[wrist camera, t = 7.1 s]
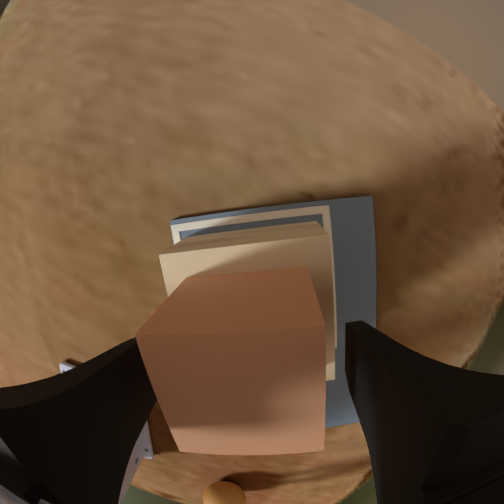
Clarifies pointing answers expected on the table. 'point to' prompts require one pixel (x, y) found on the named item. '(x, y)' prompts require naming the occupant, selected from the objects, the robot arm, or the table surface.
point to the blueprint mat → (343, 269)
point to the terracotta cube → (240, 363)
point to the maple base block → (260, 262)
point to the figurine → (224, 494)
